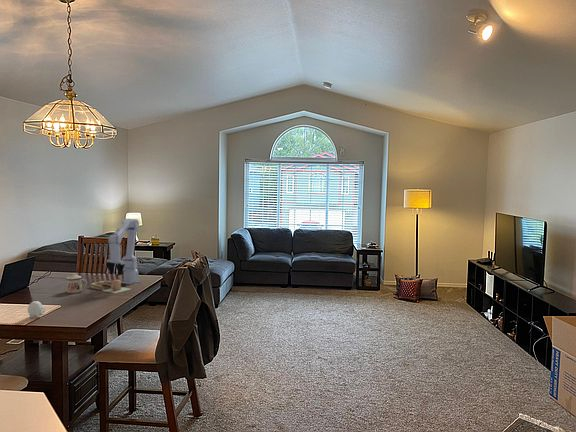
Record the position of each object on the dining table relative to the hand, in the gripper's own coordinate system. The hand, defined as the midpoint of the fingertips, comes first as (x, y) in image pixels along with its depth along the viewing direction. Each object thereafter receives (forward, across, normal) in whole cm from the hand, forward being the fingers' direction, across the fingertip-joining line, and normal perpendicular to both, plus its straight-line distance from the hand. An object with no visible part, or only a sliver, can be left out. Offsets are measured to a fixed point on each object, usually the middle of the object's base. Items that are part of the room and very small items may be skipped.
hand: (115, 274), depth 295 cm
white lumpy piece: (+10, +14, -59) cm, 61 cm away
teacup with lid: (+10, -17, -16) cm, 26 cm away
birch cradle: (+10, -13, 0) cm, 16 cm away
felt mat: (+10, +2, 0) cm, 10 cm away
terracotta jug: (+10, +1, -1) cm, 10 cm away
